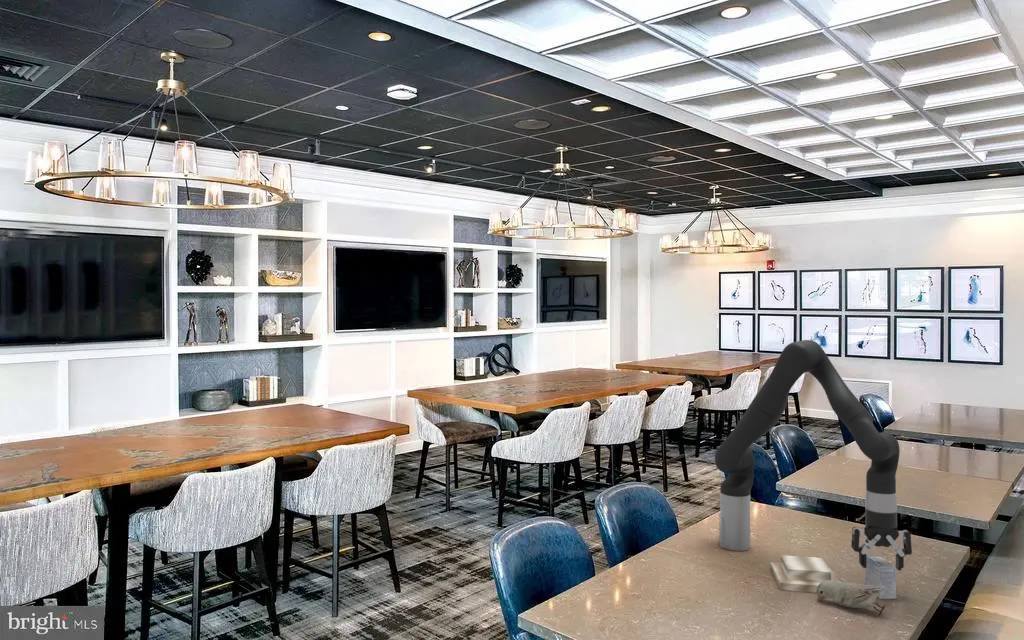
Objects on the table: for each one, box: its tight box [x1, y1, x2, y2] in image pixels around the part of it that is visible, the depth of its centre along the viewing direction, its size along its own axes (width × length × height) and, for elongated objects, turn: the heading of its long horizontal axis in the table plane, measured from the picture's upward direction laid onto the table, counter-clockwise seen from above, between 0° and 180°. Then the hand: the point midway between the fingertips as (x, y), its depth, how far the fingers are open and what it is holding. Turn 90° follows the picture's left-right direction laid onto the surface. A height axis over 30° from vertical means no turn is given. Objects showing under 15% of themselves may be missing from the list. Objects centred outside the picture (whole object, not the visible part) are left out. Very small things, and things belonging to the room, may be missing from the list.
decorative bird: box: [816, 580, 887, 618], centre depth 178 cm, size 5×16×8 cm, turn 52°
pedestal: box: [770, 555, 840, 594], centre depth 196 cm, size 16×16×5 cm
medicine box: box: [865, 556, 897, 600], centre depth 187 cm, size 8×4×9 cm, turn 179°
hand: (881, 568), depth 187 cm, fingers open, 8 cm apart
